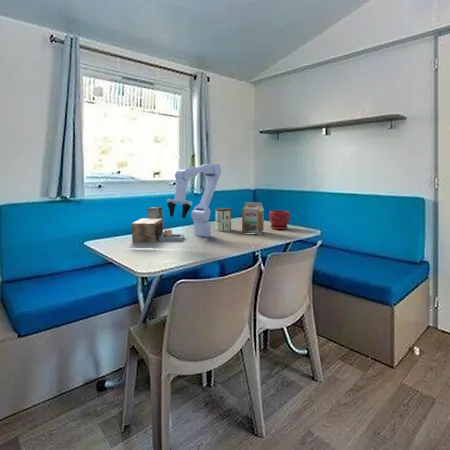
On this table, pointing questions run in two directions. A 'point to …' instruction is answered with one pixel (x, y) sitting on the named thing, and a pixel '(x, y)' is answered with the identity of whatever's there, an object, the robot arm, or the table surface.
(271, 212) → the plant pot
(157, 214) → the coffee box
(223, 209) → the coffee can
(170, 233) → the tan rounded smooth part
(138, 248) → the table surface
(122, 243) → the table surface
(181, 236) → the tray
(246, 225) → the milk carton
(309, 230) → the table surface
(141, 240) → the brown boxy block
